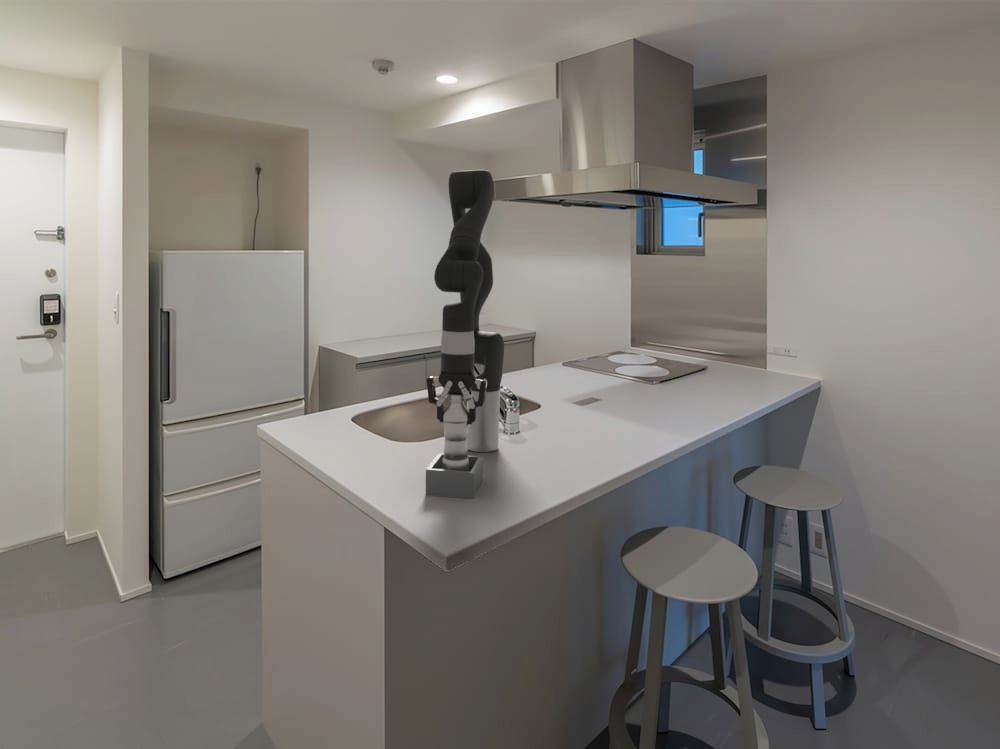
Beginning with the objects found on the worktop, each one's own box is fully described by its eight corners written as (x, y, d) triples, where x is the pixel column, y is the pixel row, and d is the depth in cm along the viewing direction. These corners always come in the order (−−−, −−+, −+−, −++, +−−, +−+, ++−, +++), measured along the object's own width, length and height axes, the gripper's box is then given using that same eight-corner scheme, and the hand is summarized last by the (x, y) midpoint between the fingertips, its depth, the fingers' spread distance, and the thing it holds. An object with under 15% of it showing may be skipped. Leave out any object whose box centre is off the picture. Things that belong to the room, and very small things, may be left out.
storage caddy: (438, 476, 145) (438, 452, 144) (482, 479, 144) (483, 456, 143) (425, 494, 134) (425, 469, 133) (473, 498, 132) (474, 473, 131)
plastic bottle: (469, 471, 142) (471, 390, 138) (468, 482, 135) (470, 397, 131) (442, 471, 142) (443, 389, 138) (440, 481, 135) (441, 396, 131)
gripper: (491, 349, 136) (489, 420, 139) (430, 346, 138) (430, 416, 141) (486, 354, 128) (484, 429, 131) (422, 351, 130) (421, 424, 133)
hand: (456, 422), depth 136 cm, fingers closed on plastic bottle, 6 cm apart
